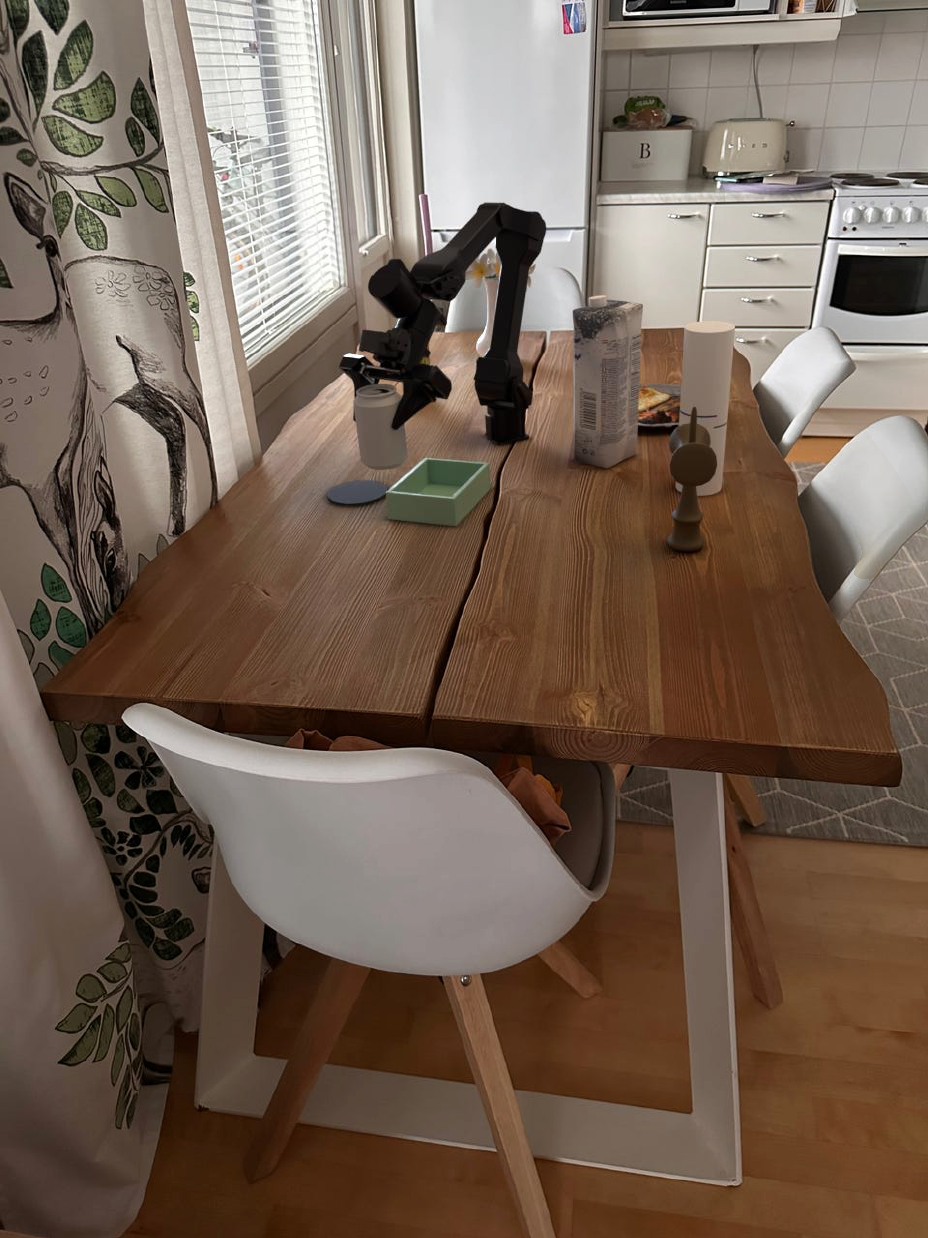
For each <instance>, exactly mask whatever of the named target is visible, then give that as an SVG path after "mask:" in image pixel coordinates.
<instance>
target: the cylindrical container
mask: <svg viewBox="0 0 928 1238" xmlns="http://www.w3.org/2000/svg"><path fill="white" fill-rule="evenodd" d="M683 330H684V332H683V349H682V365H681V366H682V367H681V369H682V370H681V383H680V385H681V399H680V417H679V426H681V425H682V424H688V423H690V418H691V412H692V408H693V407H694V406H695V407H696V409H697V424H700V425H701V426H703V427H705V428H706V429H707V431H708V432H709V434H710V441H711V444H710V447H711V448H712V449H713V451H714V452H715V454H716V457H717V468H716V472H715V475H714V476H713V477H712V479H711V480H710V481H709V482H707V483H705V484H703V485H701V486H696V490H697V497H704V496H711V495H714V494H717V493H719V492H720V491H722V488H723V478H724V475H723V474H724V466H725V465H724V464H725V452H726V442H727V441H726V440H727V427H728V415H729V403H730V393H731V392H730V391H731V381H732V380H731V379H732V369H733V368H732V367H733V357H734V356H733V354H734V344H735V343H734V342H735V332H736V331H735V330H736V326H735V325H734V324H733V323H731V322H726V321H718V320H704V321H696V322H695V321H694V322H689V323H687V324H686V325H685V326H684V329H683ZM679 426H678V427H679ZM682 487H683V485H681V484H679V483H678V482H676V481H675V489H676V490H677V491H678V492H679V493H681V491H682Z"/></svg>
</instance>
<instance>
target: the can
mask: <svg viewBox="0 0 928 1238" xmlns="http://www.w3.org/2000/svg"><path fill="white" fill-rule="evenodd" d="M397 391H398V389H397V386H396V385H394V384H389V383H378V384H373V385H368V386H364V387H361V388H359V389H358V390H357V391H356V394H357V396H356V398H355V399H354V398H353V412H355V420H356V422H355V427H356V434H357V435H356V436H357V443H358V449H359V458H360V462H361V463H362V464H363V465H364V466H366V467H367V468H368V469H370V470H376V471H386V470H392V469H395V468H396V469H397V468H399V467H400V466H402V465H403V464H404V463H405V461H406V460H407V459H408V457H409V453H408V445H407V436H406V435H407V433H406V425H405V423H404V424H403V425H402V426H401V427H400V428H399V429H398V430H394V429H393V428H392V427H391V426H392V422H393V418H394V416H395V413H396V411H397V408H398V406H399V403H400V401H401V398H402V396H403V395H401V394H400V393H399V392H397Z"/></svg>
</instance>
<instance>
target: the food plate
mask: <svg viewBox="0 0 928 1238" xmlns="http://www.w3.org/2000/svg"><path fill="white" fill-rule="evenodd" d="M680 399H681V384H670V383H669V384H667V383H643V384H639V407H638V427H644V428H649V429H651V428H652V429H653V428H661V429H662V430H664V428H667V429H669V428H671V427H672V426H677V427H679V417H680Z"/></svg>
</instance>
